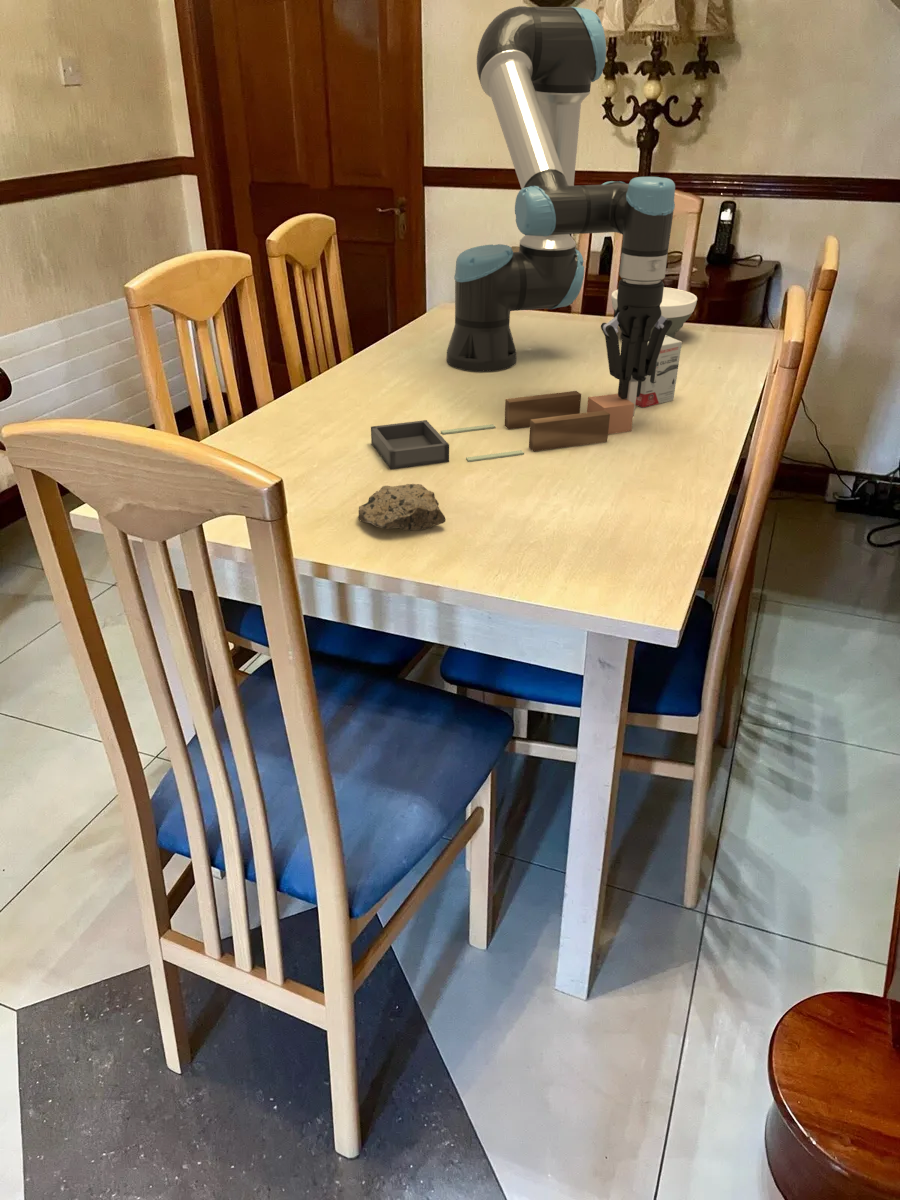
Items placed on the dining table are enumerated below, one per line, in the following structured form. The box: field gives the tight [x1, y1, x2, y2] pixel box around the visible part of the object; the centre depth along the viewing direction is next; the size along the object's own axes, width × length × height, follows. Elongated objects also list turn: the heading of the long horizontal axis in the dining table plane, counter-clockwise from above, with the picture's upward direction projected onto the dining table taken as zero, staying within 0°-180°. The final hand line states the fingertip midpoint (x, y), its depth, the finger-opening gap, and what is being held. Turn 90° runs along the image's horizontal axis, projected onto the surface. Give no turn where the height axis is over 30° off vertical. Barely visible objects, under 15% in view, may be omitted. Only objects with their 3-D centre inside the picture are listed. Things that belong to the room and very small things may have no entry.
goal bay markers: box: [440, 423, 525, 463], centre depth 157 cm, size 14×10×1 cm
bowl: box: [610, 286, 698, 338], centre depth 212 cm, size 20×20×10 cm
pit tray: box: [370, 419, 450, 470], centre depth 152 cm, size 12×10×3 cm
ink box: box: [631, 335, 683, 409], centre depth 173 cm, size 8×5×12 cm, turn 123°
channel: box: [503, 390, 610, 452], centre depth 159 cm, size 13×14×5 cm
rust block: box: [586, 393, 634, 435], centre depth 162 cm, size 6×6×5 cm
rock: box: [358, 483, 446, 531], centre depth 130 cm, size 11×12×4 cm
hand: (626, 414), depth 164 cm, fingers closed
